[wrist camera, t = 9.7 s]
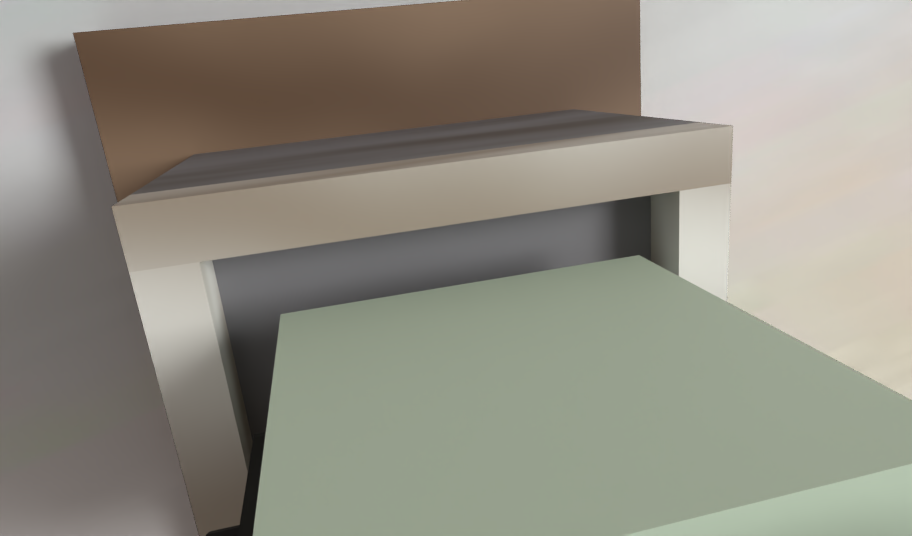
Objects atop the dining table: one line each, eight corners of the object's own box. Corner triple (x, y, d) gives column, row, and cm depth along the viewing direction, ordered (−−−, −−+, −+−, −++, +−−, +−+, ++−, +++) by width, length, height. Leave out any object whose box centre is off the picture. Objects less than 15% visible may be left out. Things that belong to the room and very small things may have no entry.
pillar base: (93, 37, 16) (-125, -8, 8) (614, -8, 18) (848, -76, 10) (226, 557, 21) (174, 856, 13) (624, 466, 23) (789, 668, 15)
